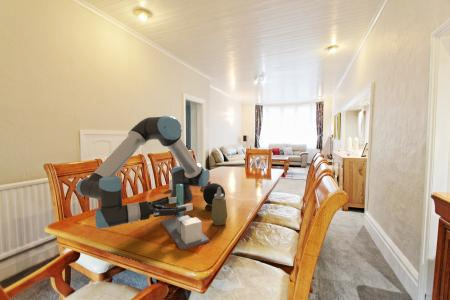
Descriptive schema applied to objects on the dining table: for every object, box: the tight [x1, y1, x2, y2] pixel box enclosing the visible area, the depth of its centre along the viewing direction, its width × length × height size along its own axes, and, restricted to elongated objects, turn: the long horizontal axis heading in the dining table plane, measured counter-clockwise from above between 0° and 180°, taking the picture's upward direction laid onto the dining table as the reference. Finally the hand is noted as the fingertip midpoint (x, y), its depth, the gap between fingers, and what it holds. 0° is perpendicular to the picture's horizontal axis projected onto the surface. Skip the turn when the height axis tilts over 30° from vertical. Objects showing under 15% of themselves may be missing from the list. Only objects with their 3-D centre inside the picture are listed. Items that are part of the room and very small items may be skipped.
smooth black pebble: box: [202, 182, 226, 213], centre depth 123 cm, size 13×13×15 cm
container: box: [168, 179, 172, 191], centre depth 168 cm, size 8×8×13 cm
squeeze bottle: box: [211, 187, 228, 226], centre depth 102 cm, size 8×8×18 cm
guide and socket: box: [160, 214, 210, 251], centre depth 95 cm, size 30×12×8 cm, turn 31°
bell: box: [199, 180, 212, 192], centre depth 166 cm, size 12×12×7 cm
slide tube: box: [176, 184, 185, 218], centre depth 91 cm, size 16×3×20 cm, turn 31°
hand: (186, 202), depth 98 cm, fingers open, 13 cm apart
